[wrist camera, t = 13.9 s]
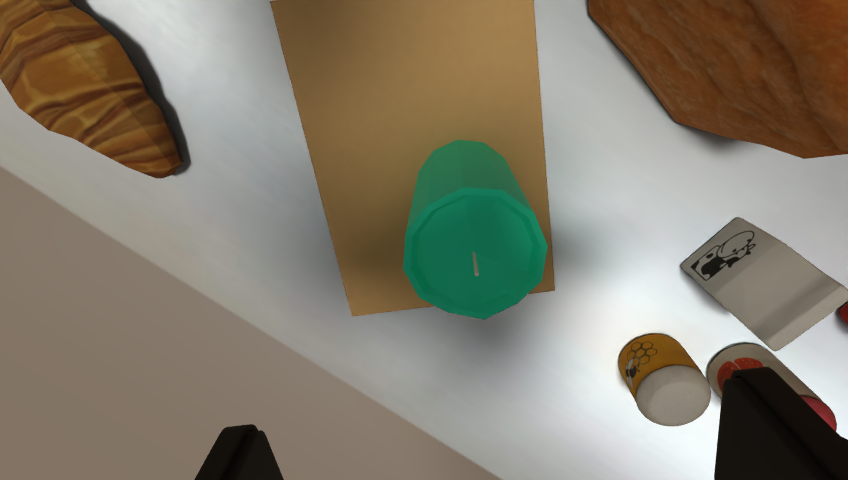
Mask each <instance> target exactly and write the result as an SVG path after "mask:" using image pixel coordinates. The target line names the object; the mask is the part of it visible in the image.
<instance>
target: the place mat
mask: <svg viewBox="0 0 848 480" xmlns="http://www.w3.org/2000/svg"><path fill="white" fill-rule="evenodd" d="M270 4H271V8H272V11H273V15H274V19H275V23H276V27H277V31H278V34H279V38H280V42H281V46H282V50H283V54H284V57H285V61H286V65H287V69H288V73H289V76H290V80H291V84H292V88H293V92H294V96H295V99H296V103H297V107H298V111H299V115H300V119H301V122H302V126H303V130H304V134H305V138H306V142H307V145H308V149H309V153H310V157H311V161H312V165H313V168H314V172H315V176H316V180H317V184H318V188H319V191H320V195H321V199H322V203H323V207H324V211H325V214H326V218H327V222H328V226H329V230H330V233H331V237H332V241H333V245H334V249H335V253H336V256H337V260H338V264H339V268H340V272H341V276H342V279H343V283H344V287H345V291H346V295H347V299H348V302H349V306H350V310H351V314H352V316H360V315H367V314H375V313H383V312H391V311H399V310H407V309H415V308H422V307H430V306H435V305H432V304H430V303H428V302H426V301H424V300H422V299H420V298H419V297H418V295H417V293H416V291H415V290H414V288H413V286H412V284H411V283H410V281H409V279H408V277H407V275H406V274H405V272H404V270H403V261H404V248H405V234H406V229H407V224H408V220H409V215H410V210H411V205H412V201H413V196H414V191H415V186H416V182H417V177H418V172H419V170H420V169H421V167H422V166H423V165H424V163H425V162H426V160H427V159H428V157H429V156H430V155H431V153H432V152H433V151H434V150H436V149H438V148H440V147H442V146H444V145H447V144H449V143H451V142H453V141H455V140H466V141H477V142H484V143H485V144H486V145H488V146H489V147H491V148H492V149H493V150H495V151H496V152H498V153H499V154H500V155H502V156H503V157H504V158H505V160H506V162H507V164H508V166H509V168H510V169H511V171H512V173H513V175H514V177H515V179H516V180H517V182H518V184H519V186H520V188H521V190H522V191H523V193H524V195H525V197H526V199H527V200H528V202H529V204H530V206H531V208H532V210H533V211H534V213H535V216H536V218H537V221H538V223H539V226H540V228H541V231H542V233H543V235H544V238H545V240H546V243H547V245H548V248H547V254H546V259H545V265H544V271H543V276H542V281H541V282H540V283H539V284H538V285H537V286H536V287H535V288H534V289H533V290H531V291H530V292H529V293H528V294H532V293H540V292H548V291H555V286H554V272H553V259H552V245H551V232H550V218H549V205H548V191H547V178H546V164H545V151H544V137H543V124H542V110H541V97H540V83H539V70H538V56H537V43H536V29H535V16H534V2H533V0H275V1H270Z"/></svg>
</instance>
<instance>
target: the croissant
mask: <svg viewBox="0 0 848 480" xmlns="http://www.w3.org/2000/svg"><path fill="white" fill-rule="evenodd" d="M0 79H1V80H2V82H3V83H4V85H5V87H6V88H7V90H8V91H9V93H10V94H11V96H12V98H13V99H14V101H15V102H16V104H17V106H18V107H19V108H20V109H22V110H23V111H24V112H25V113H27V114H28V115H29V116H31V117H32V118H33V119H35V120H36V121H37V122H39V123H40V124H41V125H42V126H44V127H45V128H46V129H48V130H50V131H53V132H56V133H59V134H62V135H65V136H68V137H71V138H74V139H76V140H78V141H79V142H81V143H83V144H84V145H86V146H88V147H90V148H92V149H93V150H95V151H97V152H99V153H101V154H103V155H105V156H107V157H109V158H111V159H113V160H115V161H117V162H119V163H121V164H122V165H124V166H126V167H128V168H131V169H134V170H136V171H139V172H141V173H144V174H147V175H149V176H152V177H154V178H164V177H167V176H170V175H173V174H175V172H176V171H177V170H178V168H179V167H180V166H181V164H182V163H183V159H182V156H181V153H180V150H179V147H178V144H177V141H176V138H175V136H174V134H173V132H172V130H171V127H170V125H169V123H168V121H167V119H166V117H165V115H164V113H163V111H162V109H161V107H160V106H159V105H158V104H157V103H156V102H155V101H154V100H153V99H152V98H151V97H150V96H149V94H148V91H147V89H146V87H145V85H144V82H143V80H142V78H141V77H140V75H139V73H138V72H137V70H136V68H135V67H134V65H133V63H132V62H131V60H130V59H129V57H128V55H127V54H126V52H125V50H124V49H123V48H122V46H121V45H120V43H119V42H118V40H117V39H116V38H114V37H113V36H112V35H111V34H110V33H109V32H108V31H107V30H105V29H104V28H103V27H102V26H101V25H100V24H99V23H97V22H96V21H95V20H94V19H93V18H92V17H91V16H89V15H88V14H87V13H85V12H83V11H82V10H80V9H78V8H77V7H76V6H75V4H74V3H73V1H72V0H0Z"/></svg>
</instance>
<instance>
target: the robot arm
mask: <svg viewBox="0 0 848 480" xmlns="http://www.w3.org/2000/svg"><path fill="white" fill-rule="evenodd" d="M714 479H715V480H848V440H847V439H845V438H843V437H841V436H840V435H839V434H838V433H837V432H836V431H835V430H834V429H833V428H832V427H831V426H830V425H829V424H828V423H826V422H825V421H824V420H823V419H822V418H821V417H820V416H819V415H818V414H817V413H816V412H815V411H814V410H813V409H812V408H811V407H810V406H809V405H808V404H807V403H806V402H805V401H804V400H803V399H802V398H801V397H800V396H799V395H798V394H797V393H796V392H795V391H794V390H793V389H792V388H791V387H790V386H789V385H788V384H787V383H786V382H785V381H784V380H783V379H782V378H781V377H780V376H779V375H778V374H777V373H776V372H775V371H774V370H773V369H771V368H769V367H758V368H749V369H740V370H734V371H733V372H732V375H731V378H730V379H725V381H724V383H723V391H722V401H721V412H720V422H719V432H718V443H717V453H716V464H715V474H714ZM195 480H284V479H283V477H282V475H281V472H280V469H279V467H278V465H277V462H276V460H275V457H274V455H273V452H272V450H271V447H270V445H269V442H268V440H267V437H266V435H265V433H264V432H263V431H258V429H257V428H256V426H255V425H252V424H251V425H241V426H232V427H226V428H224V429H223V430H222V432H221V433H220V435H219V437H218V438H217V440H216V442H215V444H214V445H213V447H212V449H211V451H210V453H209V455H208V456H207V458H206V460H205V462H204V464H203V465H202V467H201V469H200V471H199V473H198V474H197V476H196V478H195Z"/></svg>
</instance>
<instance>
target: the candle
mask: <svg viewBox="0 0 848 480" xmlns="http://www.w3.org/2000/svg"><path fill="white" fill-rule="evenodd" d="M547 248H548V245H547V243H546V240H545V238H544V235H543V233H542V231H541V228H540V226H539V223H538V221H537V218H536V216H535V213H534V211H533V210H532V208H531V206H530V204H529V202H528V200H527V199H526V197H525V195H524V193H523V191H522V190H521V188H520V186H519V184H518V182H517V180H516V179H515V177H514V175H513V173H512V171H511V169H510V168H509V166H508V164H507V162H506V160H505V158H504V157H503V156H502V155H500V154H499V153H498V152H496V151H495V150H493V149H492V148H491V147H489V146H488V145H486V144H485V143H484V142H477V141H466V140H455V141H453V142H451V143H449V144H447V145H444V146H442V147H440V148H438V149H436V150H434V151H433V152H432V153H431V155H430V156H429V157H428V159H427V160H426V162H425V163H424V165H423V166H422V167H421V169H420V170H419V172H418V177H417V182H416V186H415V191H414V196H413V201H412V205H411V210H410V215H409V220H408V224H407V229H406V234H405V248H404V261H403V270H404V272H405V274H406V275H407V277H408V279H409V281H410V283H411V284H412V286H413V288H414V290H415V291H416V293H417V295H418V297H419V298H420V299H422V300H424V301H426V302H428V303H430V304H432V305H435V306H437V307H439V308H441V309H443V310H445V311H447V312H449V313H454V314H459V315H464V316H469V317H474V318H479V319H486V318H488V317H490V316H492V315H495V314H497V313H499V312H501V311H503V310H505V309H507V308H509V307H511V306H513V305H515V304H517V303H518V302H519V301H520V300H522V299H523V298H524V297H525V296H526V295H527V294H528V293H529V292H530V291H531V290H533V289H534V288H535V287H536V286H537V285H538V284H539V283H540V282H541V281H542V276H543V271H544V265H545V259H546V254H547Z"/></svg>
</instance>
